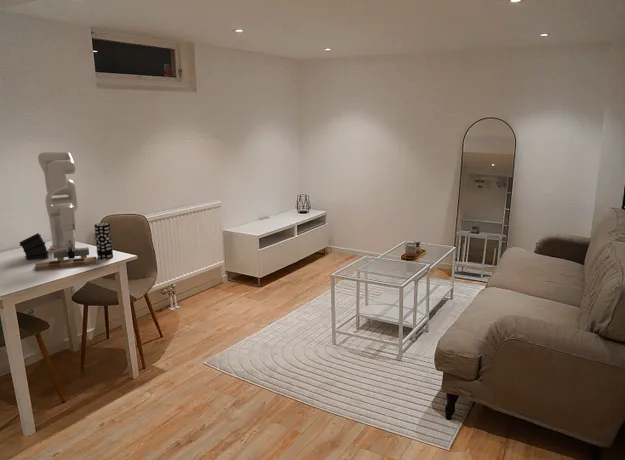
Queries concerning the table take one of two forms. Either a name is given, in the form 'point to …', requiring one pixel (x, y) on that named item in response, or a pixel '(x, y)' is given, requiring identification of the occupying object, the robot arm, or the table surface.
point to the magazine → (34, 248)
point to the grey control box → (77, 252)
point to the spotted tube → (103, 241)
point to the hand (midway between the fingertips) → (72, 256)
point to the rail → (65, 263)
